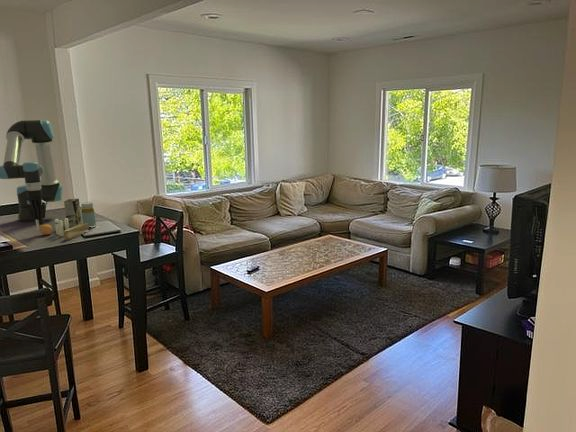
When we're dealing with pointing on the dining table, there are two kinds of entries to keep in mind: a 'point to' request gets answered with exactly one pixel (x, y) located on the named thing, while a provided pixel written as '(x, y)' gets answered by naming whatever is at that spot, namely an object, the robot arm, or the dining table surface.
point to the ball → (46, 229)
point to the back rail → (75, 231)
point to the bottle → (88, 213)
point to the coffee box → (73, 212)
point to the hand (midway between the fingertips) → (39, 230)
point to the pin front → (57, 227)
